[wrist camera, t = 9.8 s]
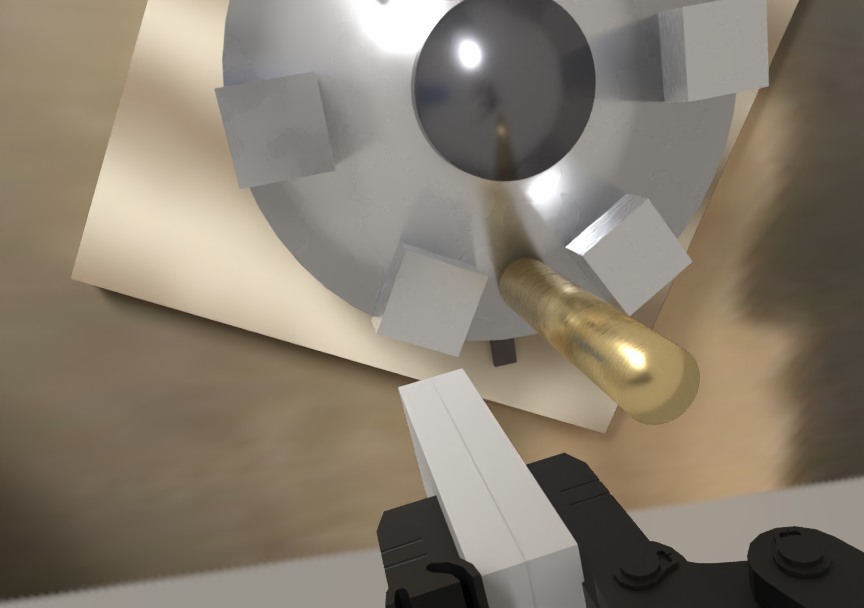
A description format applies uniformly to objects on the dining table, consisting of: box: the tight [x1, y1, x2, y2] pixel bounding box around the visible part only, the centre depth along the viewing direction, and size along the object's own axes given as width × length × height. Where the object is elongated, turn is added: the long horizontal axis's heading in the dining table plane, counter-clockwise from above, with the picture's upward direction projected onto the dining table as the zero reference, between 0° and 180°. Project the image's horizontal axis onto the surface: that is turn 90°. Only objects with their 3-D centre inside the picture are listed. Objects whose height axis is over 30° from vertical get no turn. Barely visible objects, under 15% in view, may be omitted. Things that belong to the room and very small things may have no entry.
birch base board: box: [71, 0, 799, 434], centre depth 29 cm, size 24×24×2 cm
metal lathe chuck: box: [214, 0, 769, 425], centre depth 21 cm, size 18×18×14 cm
